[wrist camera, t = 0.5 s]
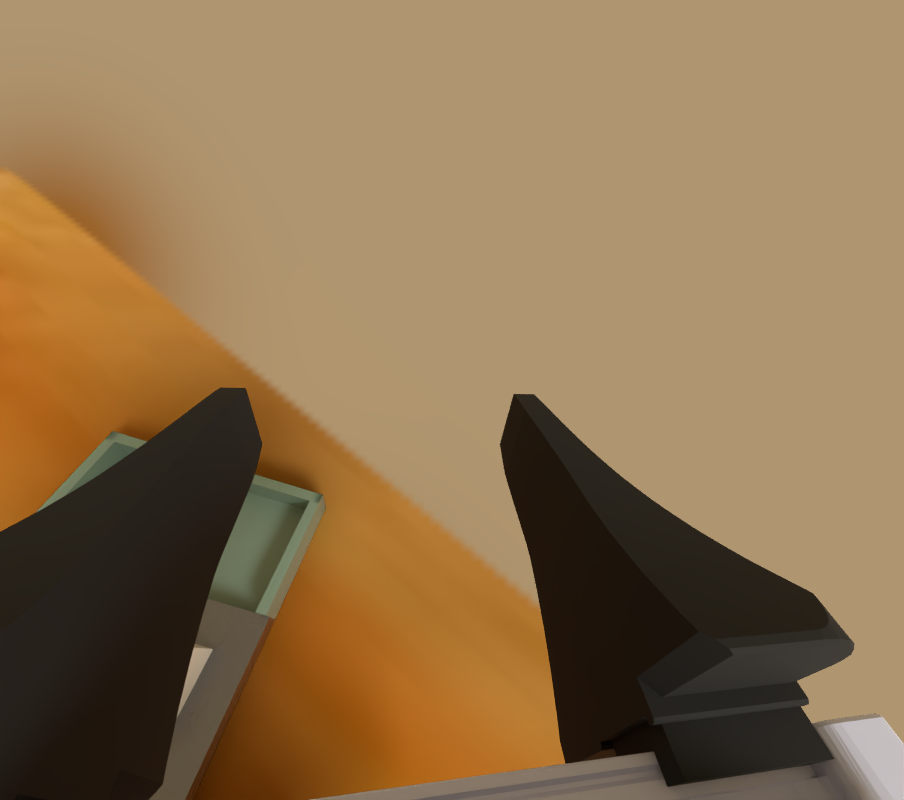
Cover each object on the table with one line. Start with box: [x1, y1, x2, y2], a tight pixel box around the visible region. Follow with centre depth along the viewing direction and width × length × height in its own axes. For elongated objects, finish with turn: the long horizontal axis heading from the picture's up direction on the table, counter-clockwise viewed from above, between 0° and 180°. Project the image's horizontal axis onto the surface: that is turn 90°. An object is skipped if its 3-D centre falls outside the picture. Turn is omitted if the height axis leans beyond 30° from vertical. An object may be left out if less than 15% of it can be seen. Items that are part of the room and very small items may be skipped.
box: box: [37, 431, 326, 619], centre depth 23 cm, size 7×14×2 cm, turn 77°
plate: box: [149, 599, 275, 800], centre depth 18 cm, size 10×14×2 cm
